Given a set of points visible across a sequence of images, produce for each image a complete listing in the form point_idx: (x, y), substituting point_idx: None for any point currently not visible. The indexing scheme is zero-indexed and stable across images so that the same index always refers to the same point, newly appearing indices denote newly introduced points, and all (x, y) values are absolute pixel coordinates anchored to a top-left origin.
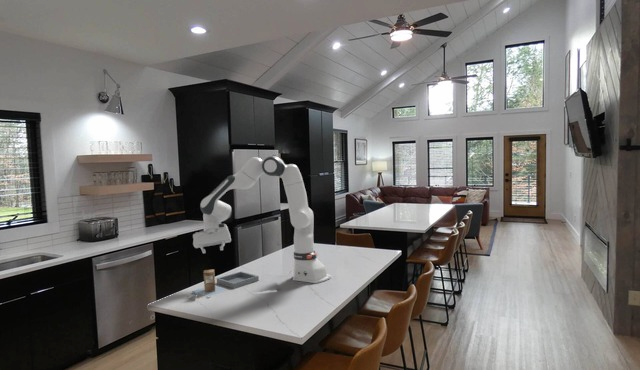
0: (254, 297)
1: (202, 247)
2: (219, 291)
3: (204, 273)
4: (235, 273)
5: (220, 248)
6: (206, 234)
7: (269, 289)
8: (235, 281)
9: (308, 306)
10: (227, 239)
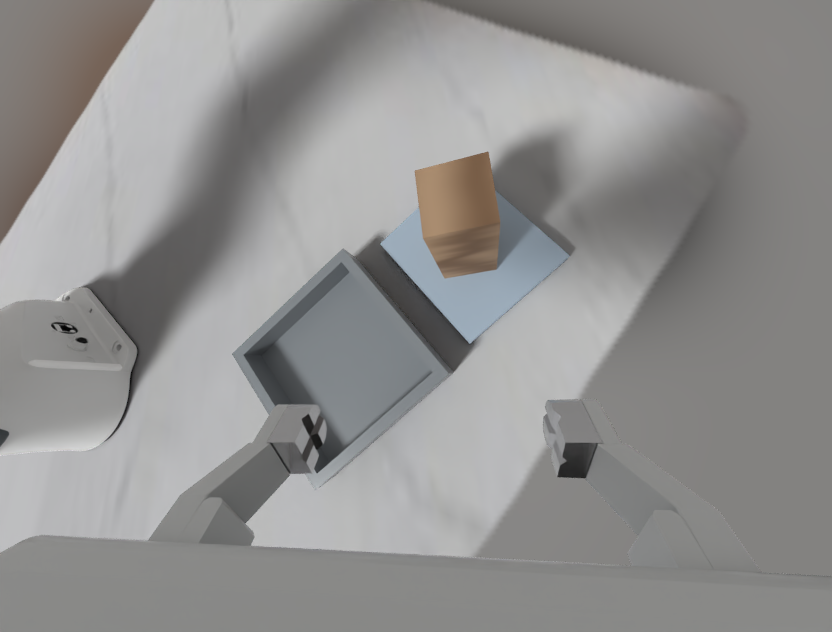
0: (281, 170)
1: (646, 533)
2: (416, 224)
3: (481, 156)
4: (344, 451)
5: (304, 406)
6: None
7: (227, 252)
8: (354, 371)
9: (151, 87)
10: (53, 537)
